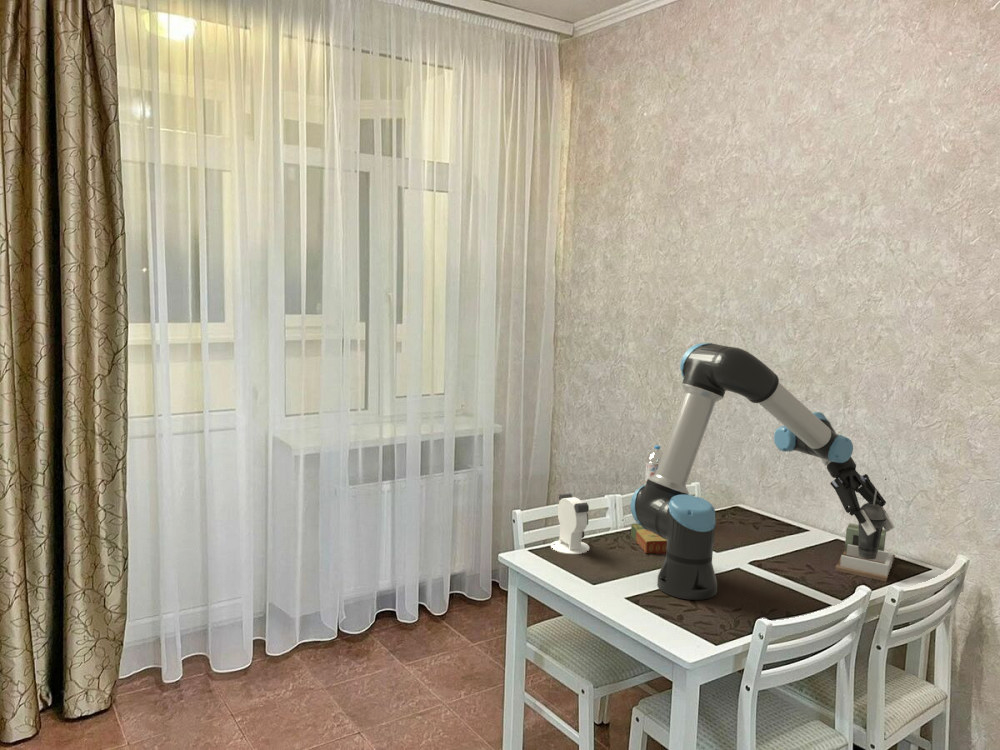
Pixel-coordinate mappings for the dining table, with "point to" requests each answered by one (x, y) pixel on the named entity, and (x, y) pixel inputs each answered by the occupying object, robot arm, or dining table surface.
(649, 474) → the water bottle
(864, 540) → the beverage cup
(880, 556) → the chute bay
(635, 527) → the carton
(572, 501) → the white upright piece
